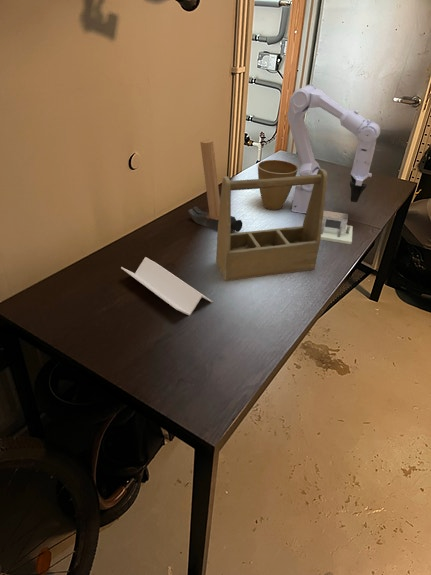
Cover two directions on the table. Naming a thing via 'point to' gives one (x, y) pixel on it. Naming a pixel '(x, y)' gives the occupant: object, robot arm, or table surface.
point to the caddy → (270, 233)
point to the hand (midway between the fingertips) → (354, 197)
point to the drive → (334, 222)
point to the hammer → (211, 192)
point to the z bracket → (167, 286)
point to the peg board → (338, 235)
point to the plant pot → (275, 169)
